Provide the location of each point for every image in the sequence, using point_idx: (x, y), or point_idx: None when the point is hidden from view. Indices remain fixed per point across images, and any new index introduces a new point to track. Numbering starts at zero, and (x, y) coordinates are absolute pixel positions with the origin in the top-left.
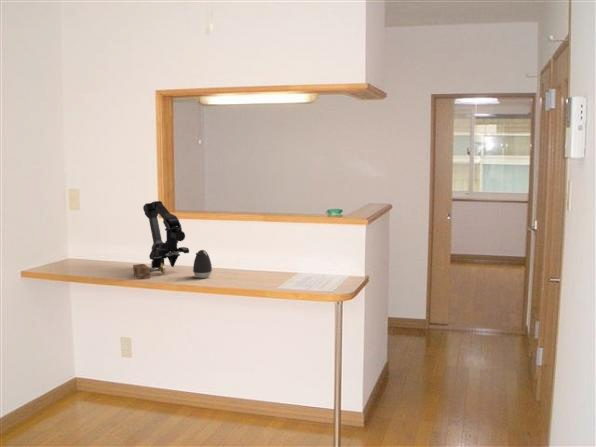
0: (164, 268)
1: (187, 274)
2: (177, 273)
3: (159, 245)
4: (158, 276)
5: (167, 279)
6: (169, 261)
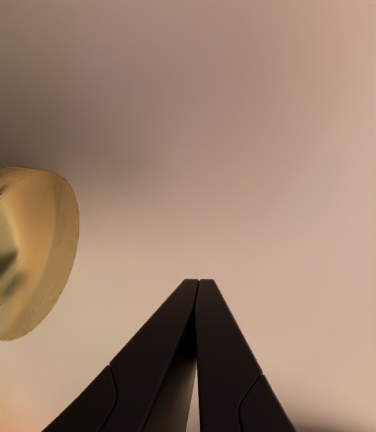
0: (37, 322)
1: (329, 341)
2: (274, 235)
3: None
4: None
5: (73, 384)
6: (116, 363)
